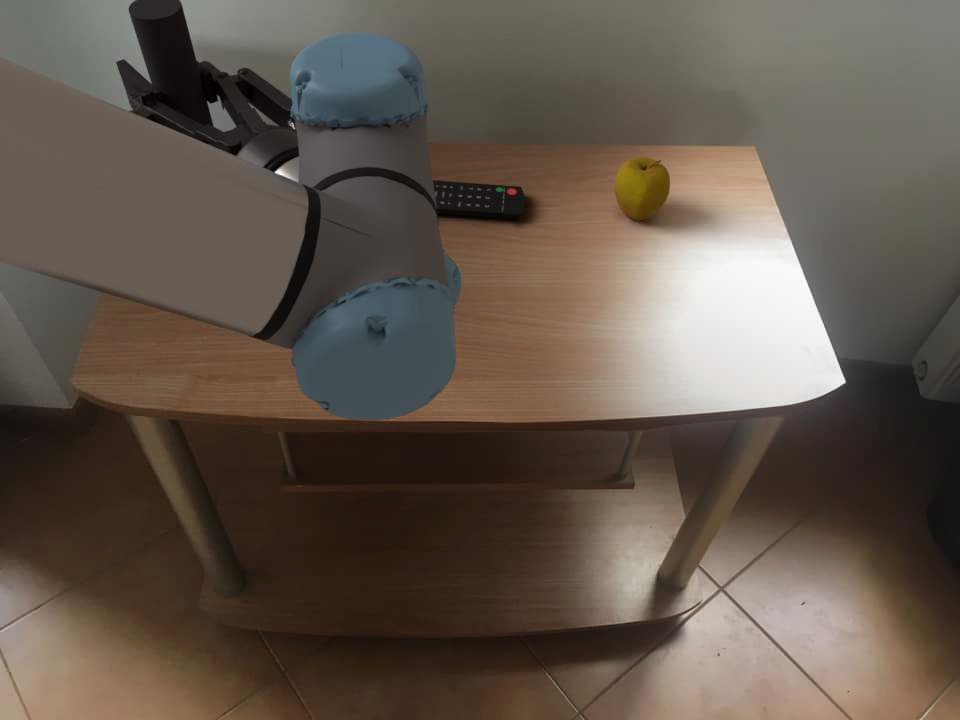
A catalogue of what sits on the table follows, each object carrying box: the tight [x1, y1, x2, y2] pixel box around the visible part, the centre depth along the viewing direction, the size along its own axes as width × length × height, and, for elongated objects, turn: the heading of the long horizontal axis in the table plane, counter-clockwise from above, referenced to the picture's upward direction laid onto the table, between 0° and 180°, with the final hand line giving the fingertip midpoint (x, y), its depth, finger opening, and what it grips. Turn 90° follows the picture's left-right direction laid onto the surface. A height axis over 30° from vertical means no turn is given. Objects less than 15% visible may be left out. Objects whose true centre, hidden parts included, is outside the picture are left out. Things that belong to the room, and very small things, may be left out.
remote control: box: [433, 179, 526, 220], centre depth 96 cm, size 5×24×1 cm, turn 86°
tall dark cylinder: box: [128, 0, 214, 126], centre depth 67 cm, size 4×4×16 cm
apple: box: [614, 157, 671, 221], centre depth 93 cm, size 6×6×8 cm
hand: (150, 66), depth 70 cm, fingers closed on tall dark cylinder, 4 cm apart
